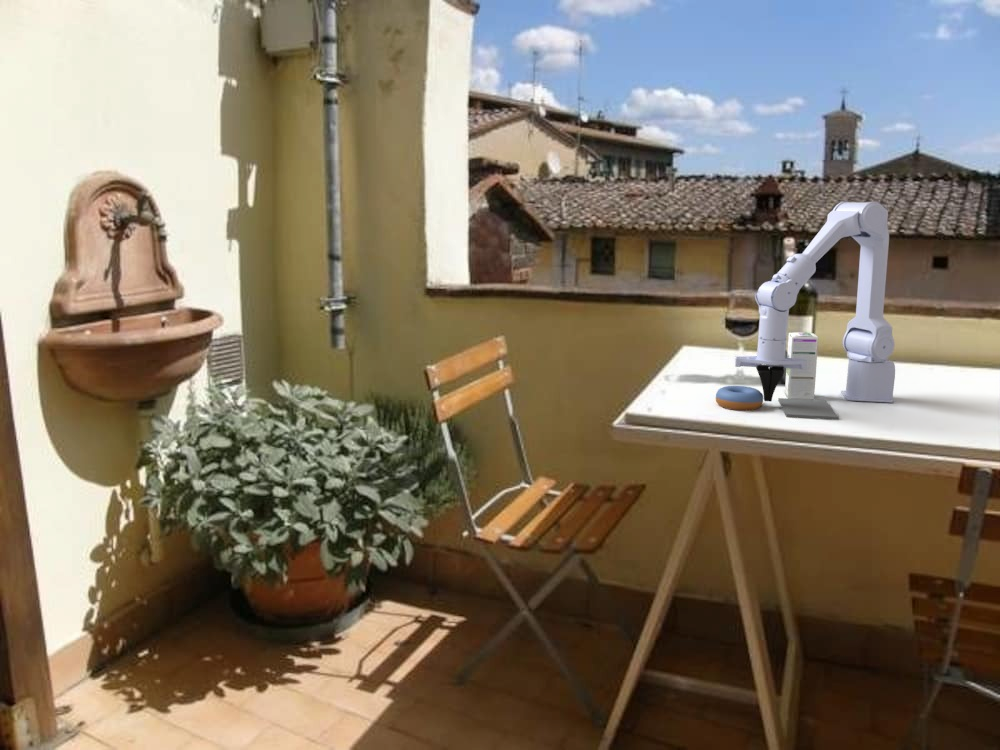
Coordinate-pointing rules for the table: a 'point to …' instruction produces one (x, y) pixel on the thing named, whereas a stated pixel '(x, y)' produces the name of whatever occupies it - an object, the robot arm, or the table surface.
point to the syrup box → (799, 380)
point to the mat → (807, 408)
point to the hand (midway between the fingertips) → (767, 400)
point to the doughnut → (739, 398)
